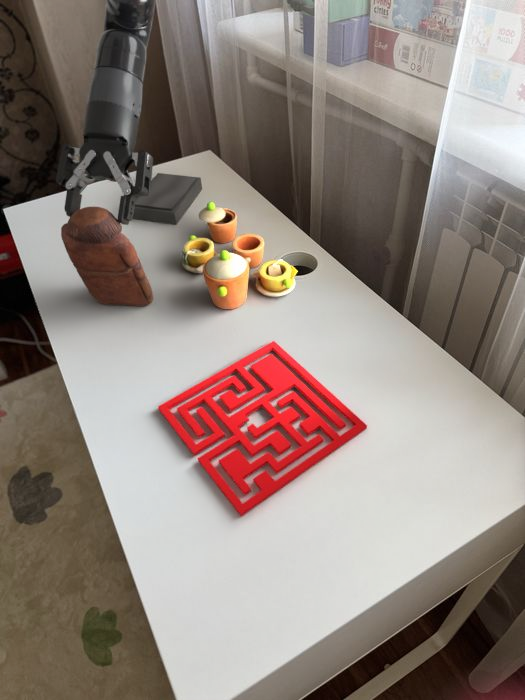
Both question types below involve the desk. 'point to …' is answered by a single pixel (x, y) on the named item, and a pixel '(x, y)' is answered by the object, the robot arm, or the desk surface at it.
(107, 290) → the wooden figurine
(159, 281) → the desk surface
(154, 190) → the block
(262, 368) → the maze puzzle
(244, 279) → the toy tea set
